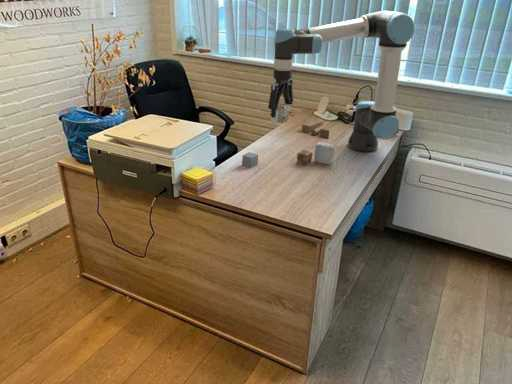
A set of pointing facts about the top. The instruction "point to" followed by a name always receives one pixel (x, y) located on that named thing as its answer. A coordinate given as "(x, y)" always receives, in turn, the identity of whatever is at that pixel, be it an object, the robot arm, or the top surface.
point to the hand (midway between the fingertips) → (280, 121)
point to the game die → (282, 113)
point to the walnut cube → (304, 157)
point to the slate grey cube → (250, 160)
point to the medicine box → (324, 153)
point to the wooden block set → (316, 128)
